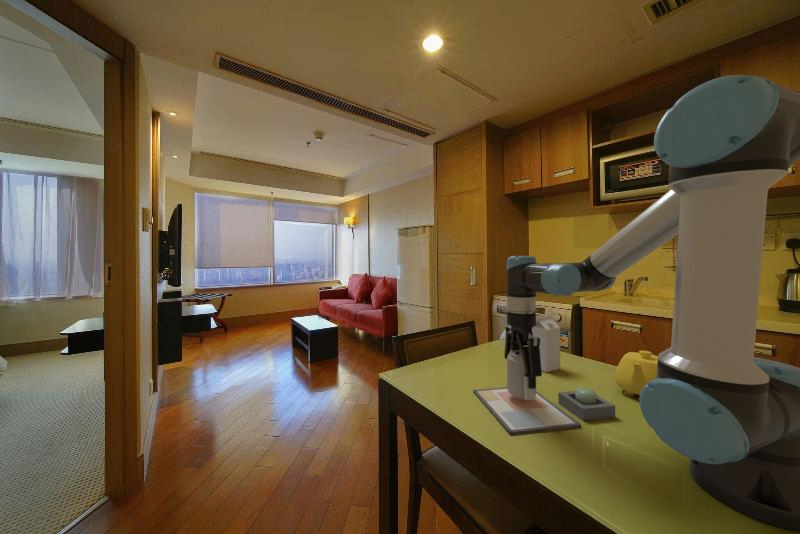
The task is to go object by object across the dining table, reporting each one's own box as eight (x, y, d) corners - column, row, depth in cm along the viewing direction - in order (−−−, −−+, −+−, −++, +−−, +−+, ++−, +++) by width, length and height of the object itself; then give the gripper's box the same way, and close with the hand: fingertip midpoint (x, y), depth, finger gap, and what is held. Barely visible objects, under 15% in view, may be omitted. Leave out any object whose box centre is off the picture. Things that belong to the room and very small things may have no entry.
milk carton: (529, 366, 110) (529, 315, 109) (543, 363, 113) (543, 313, 112) (546, 372, 103) (546, 318, 103) (560, 369, 106) (560, 316, 106)
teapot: (682, 394, 86) (683, 350, 86) (668, 418, 74) (669, 367, 73) (625, 379, 97) (625, 340, 96) (604, 398, 84) (604, 354, 84)
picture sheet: (581, 427, 70) (581, 424, 70) (510, 435, 68) (510, 432, 68) (528, 387, 92) (528, 385, 92) (473, 392, 90) (473, 389, 90)
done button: (600, 407, 76) (600, 394, 76) (584, 409, 76) (584, 396, 75) (586, 399, 81) (586, 386, 81) (571, 400, 80) (571, 388, 80)
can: (530, 389, 86) (530, 348, 86) (540, 401, 79) (540, 356, 79) (504, 388, 87) (504, 348, 87) (511, 400, 80) (511, 356, 79)
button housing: (615, 417, 74) (615, 405, 74) (582, 420, 73) (582, 408, 73) (587, 400, 83) (587, 389, 83) (558, 403, 82) (558, 392, 82)
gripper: (558, 317, 73) (558, 409, 74) (514, 305, 93) (515, 376, 94) (529, 319, 72) (530, 412, 72) (492, 305, 92) (492, 378, 93)
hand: (521, 392), depth 83 cm, fingers closed on can, 7 cm apart
